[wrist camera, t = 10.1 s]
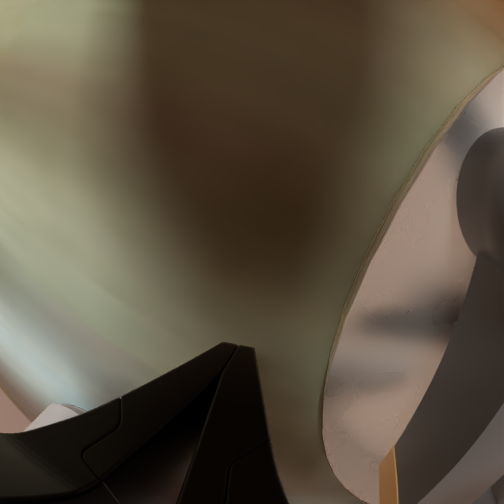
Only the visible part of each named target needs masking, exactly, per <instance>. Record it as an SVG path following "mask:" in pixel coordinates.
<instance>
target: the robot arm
mask: <svg viewBox="0 0 504 504" xmlns="http://www.w3.org/2000/svg"><path fill="white" fill-rule="evenodd" d="M0 504H289V503H288V500H287V498H286V495H285V492H284V489H283V486H282V483H281V480H280V477H279V474H278V470H277V466H276V462H275V458H274V453H273V447H272V443H271V438H270V432H269V427H268V421H267V416H266V410H265V405H264V399H263V393H262V388H261V382H260V376H259V371H258V365H257V359H256V353H255V349H254V348H253V347H248V346H243V345H240V346H238V345H237V344H232V343H227V342H222V343H220V344H218V345H216V346H215V347H213V348H211V349H209V350H208V351H206V352H204V353H202V354H200V355H199V356H197V357H195V358H193V359H191V360H190V361H188V362H186V363H184V364H182V365H181V366H179V367H177V368H175V369H173V370H171V371H169V372H167V373H166V374H164V375H162V376H160V377H158V378H156V379H154V380H152V381H150V382H148V383H146V384H145V385H143V386H141V387H139V388H137V389H135V390H133V391H131V392H129V393H127V394H125V395H123V396H121V399H120V398H116V399H114V400H112V401H110V402H108V403H106V404H104V405H102V406H99V407H97V408H95V409H92V410H90V411H88V412H85V413H82V414H80V415H77V416H74V417H71V418H68V419H65V420H62V421H59V422H56V423H53V424H49V425H46V426H43V427H39V428H36V429H32V430H29V431H25V432H20V433H0Z"/></svg>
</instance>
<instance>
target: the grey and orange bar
mask: <svg viewBox="0 0 504 504" xmlns="http://www.w3.org/2000/svg"><path fill="white" fill-rule="evenodd" d="M472 504H504V475H503V476H502V477H501V478H500V479H499V480H498V481H496V482H495V483H494V484H493V485H492V486H491V487H490V488H489V489H488V490H487V491H486V492H484V493H483V494H482V495H481V496H480V497H479V498H478V499H476V500H475V501H474V502H473V503H472Z"/></svg>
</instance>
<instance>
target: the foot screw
mask: <svg viewBox="0 0 504 504" xmlns="http://www.w3.org/2000/svg"><path fill="white" fill-rule="evenodd" d="M456 207H457V216H458V221H459V226H460V229H461V232H462V235H463V237H464V240H465V242H466V244H467V245H468V247H469V249H470V250H471V252H472V253H473V254H474V255H475V256H476V257H477V258H476V262H475V266H474V270H473V273H472V277H471V280H470V284H469V287H468V290H467V293H466V297H465V300H464V303H463V306H462V309H461V311H460V314H459V317H458V320H457V323H456V325H455V328H454V330H453V333H452V336H451V338H450V341H449V343H448V345H447V348H446V350H445V352H444V355H443V357H442V359H441V362H440V364H439V366H438V368H437V370H436V372H435V374H434V377H433V379H432V381H431V383H430V385H429V387H428V389H427V391H426V393H425V394H424V396H423V398H422V400H421V402H420V404H419V406H418V407H417V409H416V411H415V413H414V415H413V416H412V418H411V420H410V421H409V423H408V425H407V426H406V428H405V430H404V431H403V433H402V435H401V436H400V438H399V439H398V441H397V442H396V444H395V445H394V446H392V448H391V450H390V451H389V453H388V454H387V455H386V457H385V458H384V460H383V461H382V463H381V464H380V465H379V504H472V503H473V502H474V501H475V500H476V499H478V498H479V497H480V496H481V495H482V494H483V493H484V492H486V491H487V490H488V489H489V488H490V487H491V486H492V485H493V484H494V483H495V482H496V481H498V480H499V479H500V478H501V477H502V476H503V475H504V127H500V128H495V129H492V130H489V131H487V132H485V133H484V134H483V135H481V136H480V137H479V138H478V139H477V140H476V141H475V142H474V143H473V145H472V146H471V148H470V149H469V151H468V152H467V154H466V156H465V158H464V161H463V163H462V166H461V169H460V173H459V177H458V183H457V193H456Z"/></svg>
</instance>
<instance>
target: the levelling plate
mask: <svg viewBox="0 0 504 504" xmlns="http://www.w3.org/2000/svg"><path fill="white" fill-rule="evenodd" d="M500 127H504V66H503V67H502V68H500V69H499V70H497V71H496V72H494V73H493V74H491V75H490V76H488V77H487V78H485V79H484V80H483V81H482V82H481V83H480V84H479V85H478V86H477V87H476V88H475V89H474V90H473V91H472V92H471V93H470V94H469V95H468V96H467V97H466V98H465V99H464V100H463V101H462V102H461V103H460V104H459V105H458V106H457V107H455V108H454V110H453V111H452V113H451V114H450V115H449V117H448V118H447V119H446V121H445V122H444V123H443V125H442V126H441V127H440V129H439V130H438V131H437V132H436V134H435V135H434V136H433V138H432V139H431V140H430V142H429V143H428V144H427V145H426V147H425V148H424V149H423V151H422V153H421V154H420V156H419V158H418V159H417V161H416V163H415V164H414V166H413V168H412V169H411V171H410V173H409V174H408V176H407V178H406V179H405V181H404V182H403V184H402V186H401V187H400V189H399V190H398V192H397V194H396V195H395V197H394V198H393V200H392V202H391V204H390V206H389V208H388V210H387V212H386V214H385V216H384V218H383V220H382V222H381V224H380V226H379V228H378V230H377V232H376V234H375V236H374V238H373V240H372V242H371V244H370V246H369V248H368V249H367V251H366V253H365V256H364V258H363V261H362V264H361V266H360V269H359V271H358V273H357V276H356V278H355V281H354V283H353V286H352V288H351V290H350V293H349V295H348V297H347V300H346V302H345V304H344V308H343V311H342V315H341V318H340V322H339V325H338V328H337V331H336V335H335V338H334V341H333V344H332V347H331V352H330V358H329V364H328V370H327V375H326V381H325V386H324V401H323V440H324V445H325V450H326V456H327V459H328V461H329V463H330V465H331V468H332V470H333V472H334V474H335V476H336V477H337V478H338V479H339V481H340V482H341V483H342V484H343V485H344V487H345V488H346V489H347V490H348V491H350V492H351V493H352V494H354V495H355V496H356V497H358V498H359V499H361V500H363V501H365V502H367V503H369V504H379V465H380V464H381V463H382V461H383V460H384V458H385V457H386V455H387V454H388V453H389V451H390V450H391V448H392V446H394V445H395V444H396V442H397V441H398V439H399V438H400V436H401V435H402V433H403V431H404V430H405V428H406V426H407V425H408V423H409V421H410V420H411V418H412V416H413V415H414V413H415V411H416V409H417V407H418V406H419V404H420V402H421V400H422V398H423V396H424V394H425V393H426V391H427V389H428V387H429V385H430V383H431V381H432V379H433V377H434V374H435V372H436V370H437V368H438V366H439V364H440V362H441V359H442V357H443V355H444V352H445V350H446V348H447V345H448V343H449V341H450V338H451V336H452V333H453V330H454V328H455V325H456V323H457V320H458V317H459V314H460V311H461V309H462V306H463V303H464V300H465V297H466V293H467V290H468V287H469V284H470V280H471V277H472V273H473V270H474V266H475V262H476V258H477V257H476V256H475V255H474V254H473V253H472V252H471V250H470V249H469V247H468V245H467V244H466V242H465V240H464V237H463V235H462V232H461V229H460V226H459V221H458V216H457V207H456V193H457V183H458V177H459V173H460V169H461V166H462V163H463V161H464V158H465V156H466V154H467V152H468V151H469V149H470V148H471V146H472V145H473V143H474V142H475V141H476V140H477V139H478V138H479V137H480V136H481V135H483V134H484V133H485V132H487V131H489V130H492V129H495V128H500Z"/></svg>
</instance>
